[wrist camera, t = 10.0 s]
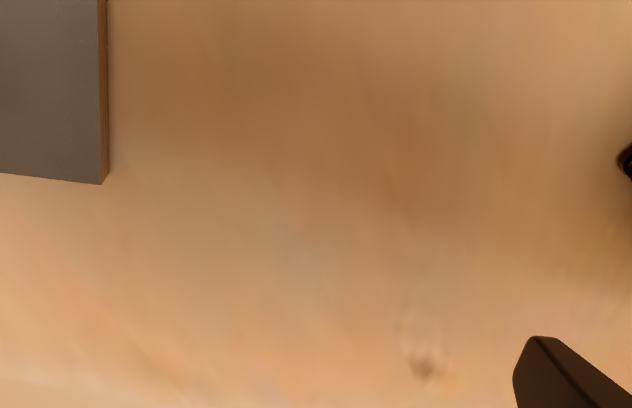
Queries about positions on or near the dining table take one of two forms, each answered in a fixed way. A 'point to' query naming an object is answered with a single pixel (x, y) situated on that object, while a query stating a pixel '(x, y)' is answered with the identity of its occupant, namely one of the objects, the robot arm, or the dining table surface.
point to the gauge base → (54, 89)
